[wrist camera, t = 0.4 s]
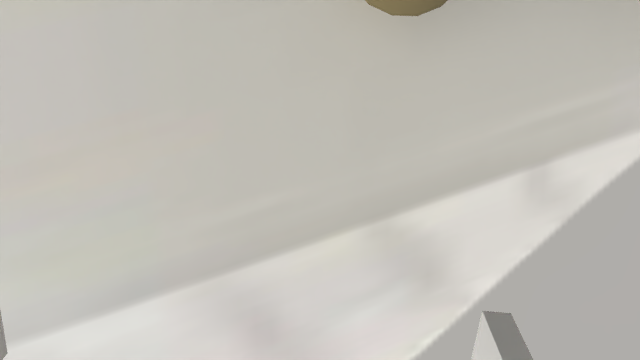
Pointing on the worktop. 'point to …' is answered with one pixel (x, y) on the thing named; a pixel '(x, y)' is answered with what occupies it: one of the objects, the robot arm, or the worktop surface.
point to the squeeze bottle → (406, 6)
